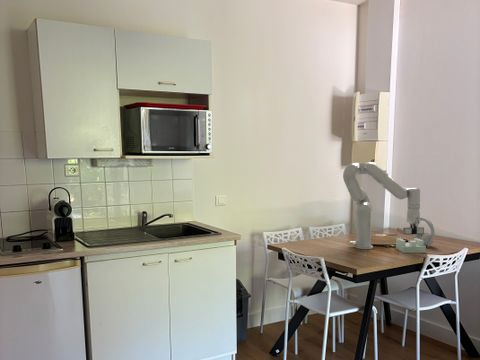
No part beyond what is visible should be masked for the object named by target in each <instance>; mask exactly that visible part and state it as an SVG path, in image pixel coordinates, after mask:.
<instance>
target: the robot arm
mask: <svg viewBox="0 0 480 360" xmlns="http://www.w3.org/2000/svg"><path fill="white" fill-rule="evenodd" d="M357 175H359V176H360V175H368V177H371V178H372V179H373V180H375V181H376V182H377V183H378V184H379V185H380V186H382V188H384V189H385V190H387V191H388V192H389V193H390V194H391V195H392V196H394V197H395V198H396V199H397V200H405V199H407V212H406V222H407V223H408V224H409V227H412V235H413V234H417V227H419V225H420V224H421V223H420V222H421V221H420V218H421V217H420V216H421V213H420V210H421V189H420V188H418V187H403V186H401V185H400V184H399V183H397V182H396V181H395V180H394V179H393V178H392V176H391V175H390V174H389V173H387V172H386V171H384V170H383V169H382V168H380V166H379V165H378V164H377V163H376V162H373V161H369V162H354V163H353V162H352V163H349V164H348V165H347V166H346V167H345V168H344V171H343V173H342V178H343V182H344V184H345V187H346V189H347V192H348V193H349V196H350V198H351V200H352V201H353V202H355V204H356V211H355V212H356V213H355V214H356V239H355V240H354V241H349V245H354V246H353V247H354V248H356V249H360V250H372V249H374V246H373V245H372V243H371V240H372V239H371V237H372V236H371V235H372V233H371V232H372V211H373V204H372V203H371V200H370V198H369V196H368V194H367V192H366V191H365V189H364V188H363V187H361V185H360V184H359V181H358V180H357V177H356V176H357ZM415 223H416V224H415Z"/></svg>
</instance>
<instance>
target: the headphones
mask: <svg viewBox="0 0 480 360" xmlns="http://www.w3.org/2000/svg"><path fill="white" fill-rule="evenodd" d="M421 221H424V222H425V223H426V224H427V226H428V227H429V229H430V232H431V233H430V232H424V234H412V240H414V238H418V239H420V240H423V241H424V244H423V245H424V246H426V248H430V247H431V245H433V244H434V238H435V228H434V224H433V223H432V221H431V220H430V219H428V218H427V217H424V216H422V217H420V222H421ZM415 224H416V223H415Z"/></svg>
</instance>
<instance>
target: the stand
mask: <svg viewBox="0 0 480 360" xmlns="http://www.w3.org/2000/svg"><path fill="white" fill-rule="evenodd" d="M395 242H396V243H395V249H396V250H398V251H400V252H401V253H403V254H404V253H405V254H406V253H407V254H409V253H411V254H413V253H415V254H416V253H419V254H420V253H426V251H427V246H424V245H423V244H424V241H423V240H420V239H418V238H414V239H413V240H409V242H406V240H405V239H403V238H396V241H395Z"/></svg>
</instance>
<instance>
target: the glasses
mask: <svg viewBox="0 0 480 360" xmlns="http://www.w3.org/2000/svg"><path fill="white" fill-rule="evenodd" d="M396 232H398V233H400V234H402V235H405V236H407V235H408V236H409V235H412V236H413V234H412V227H410V226H409V227H408V226H407V227H402V228H400V227H396ZM417 234H425V228H424V226H423V227H421V226H420V227H419V226H417Z"/></svg>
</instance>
